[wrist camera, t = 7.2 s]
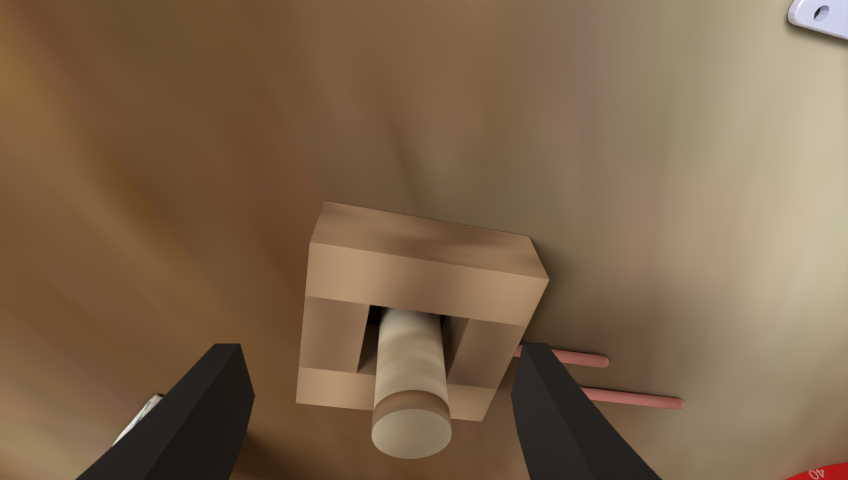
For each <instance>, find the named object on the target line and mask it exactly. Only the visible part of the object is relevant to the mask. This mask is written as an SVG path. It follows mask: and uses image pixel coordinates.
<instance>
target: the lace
mask: <svg viewBox="0 0 848 480" xmlns="http://www.w3.org/2000/svg"><path fill="white" fill-rule="evenodd" d="M521 349H522V345H518V347H517V349H516V351H515V353H514V355H513V356H514V357H520V354H521ZM551 350H552V351H553V352H554V354H555V355H556V356H557V358H558V359H559V360H560V362H562V363H570V364H578V365H585V366H593V367H601V368H605V367H607V366H608V364H609V360H608V359H607V357H605V356H600V355H593V354H585V353H578V352H570V351H562V350H555V349H551ZM580 388H581V389H582V390H583V392H584V393H585V394H586V395H587V396H588V398H589V399H590V400H597V401H606V402H615V403H624V404H633V405H642V406H651V407H659V408H668V409H677V410H680V409H682V408H683V407H684V403H683V401H682V400H680V399H677V398H669V397H660V396H652V395H643V394H634V393H626V392H617V391H609V390H600V389H592V388H583V387H580Z"/></svg>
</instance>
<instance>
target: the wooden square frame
mask: <svg viewBox="0 0 848 480" xmlns="http://www.w3.org/2000/svg"><path fill="white" fill-rule="evenodd" d="M548 282H549V278H548V276H547V273H546V271H545V269H544V267H543V265H542V263H541V261H540V259H539V257H538V255H537V253H536V251H535V249H534V246H533V244H532V242H531V240H530V238H529V236H524V235H519V234H513V233H507V232H501V231H496V230H490V229H484V228H478V227H472V226H467V225H461V224H455V223H449V222H444V221H438V220H432V219H426V218H421V217H415V216H409V215H403V214H398V213H392V212H386V211H380V210H374V209H369V208H363V207H357V206H351V205H346V204H340V203H334V202H328V201H325V202H324V204H323V207H322V210H321V213H320V216H319V218H318V221H317V224H316V227H315V230H314V232H313V235H312V238H311V241H310V248H309V260H308V271H307V282H306V294H305V305H304V316H303V328H302V339H301V350H300V361H299V373H298V384H297V395H296V403H302V404H312V405H322V406H332V407H342V408H352V409H362V410H372V411H374V400H375V386H376V372H377V358H378V343H379V329H380V325H374V324H366V322H367V317H368V312H369V307H370V305H376V306H384V307H391V308H398V309H405V310H412V311H420V312H427V313H434V314H441V315H446V318H445V321H444V324H443V327H442V330H441V336H442V345H443V355H444V365H445V374H446V384H447V394H448V403H449V410H450V418H452V419H462V420H472V421H482V420H483V418H484V416H485V413H486V411H487V409H488V407H489V405H490V403H491V401H492V399H493V397H494V395H495V393H496V391H497V388H498V386H499V384H500V382H501V380H502V378H503V376H504V374H505V372H506V370H507V368H508V365H509V363H510V361H511V359H512V357H513V355H514V353H515V351H516V349H517V347H518V345H519V342H520V340H521V338H522V336H523V334H524V332H525V330H526V328H527V326H528V324H529V322H530V319H531V317H532V315H533V313H534V311H535V309H536V307H537V305H538V303H539V301H540V299H541V296H542V294H543V292H544V290H545V288H546V286H547V284H548Z"/></svg>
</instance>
